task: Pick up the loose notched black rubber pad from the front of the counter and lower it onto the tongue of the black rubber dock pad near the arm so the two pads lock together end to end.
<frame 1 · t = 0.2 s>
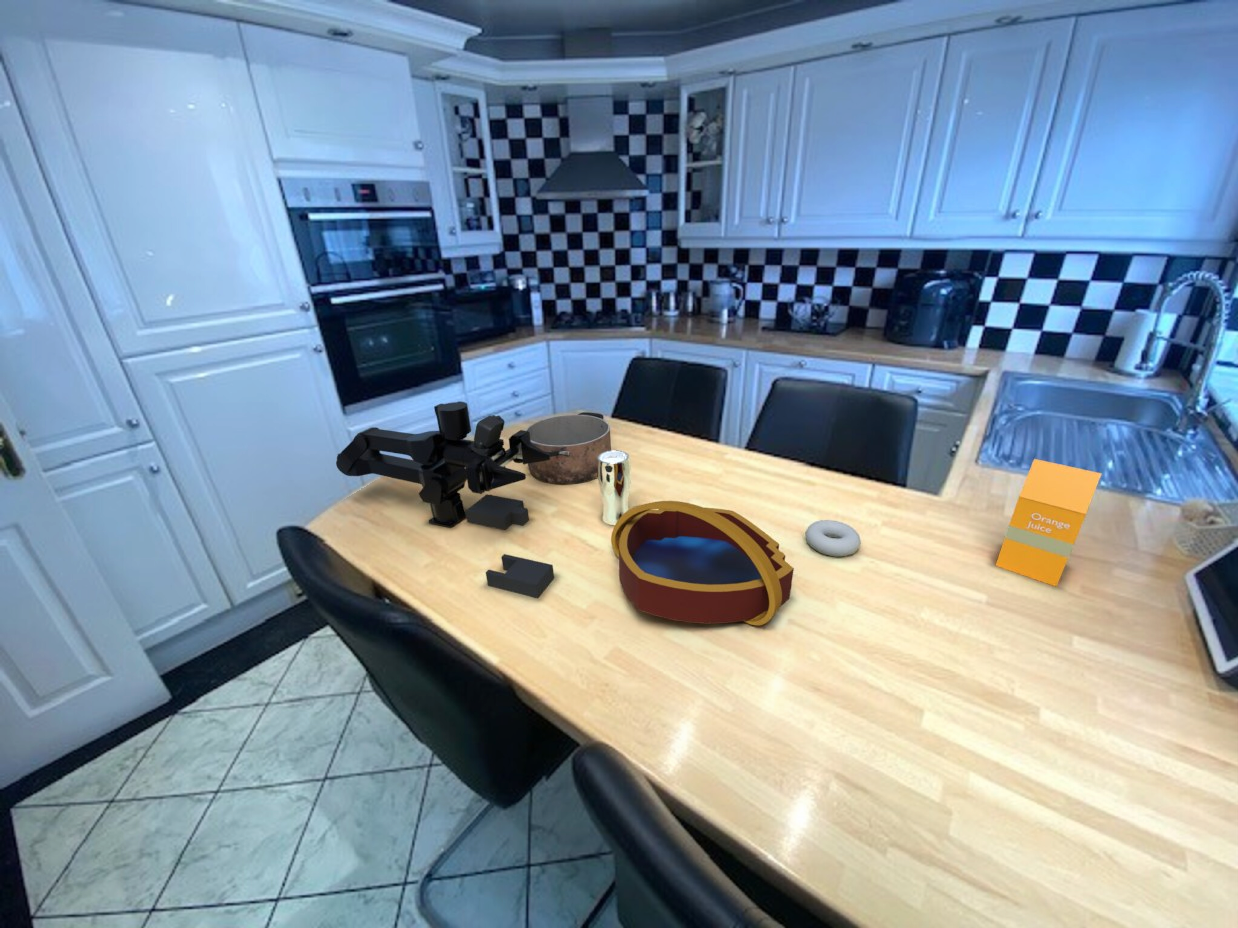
hand: (538, 466, 98), 17 cm above the countertop, tool horizontal, fingers open, 9 cm apart
donut: (831, 545, 99), on the countertop
dock pad: (496, 517, 114), on the countertop
cooking pot: (570, 466, 137), on the countertop
loose pad: (522, 582, 93), on the countertop
decorative basket: (690, 582, 91), on the countertop
beer glass: (616, 519, 112), on the countertop
orange juice: (1029, 567, 91), on the countertop
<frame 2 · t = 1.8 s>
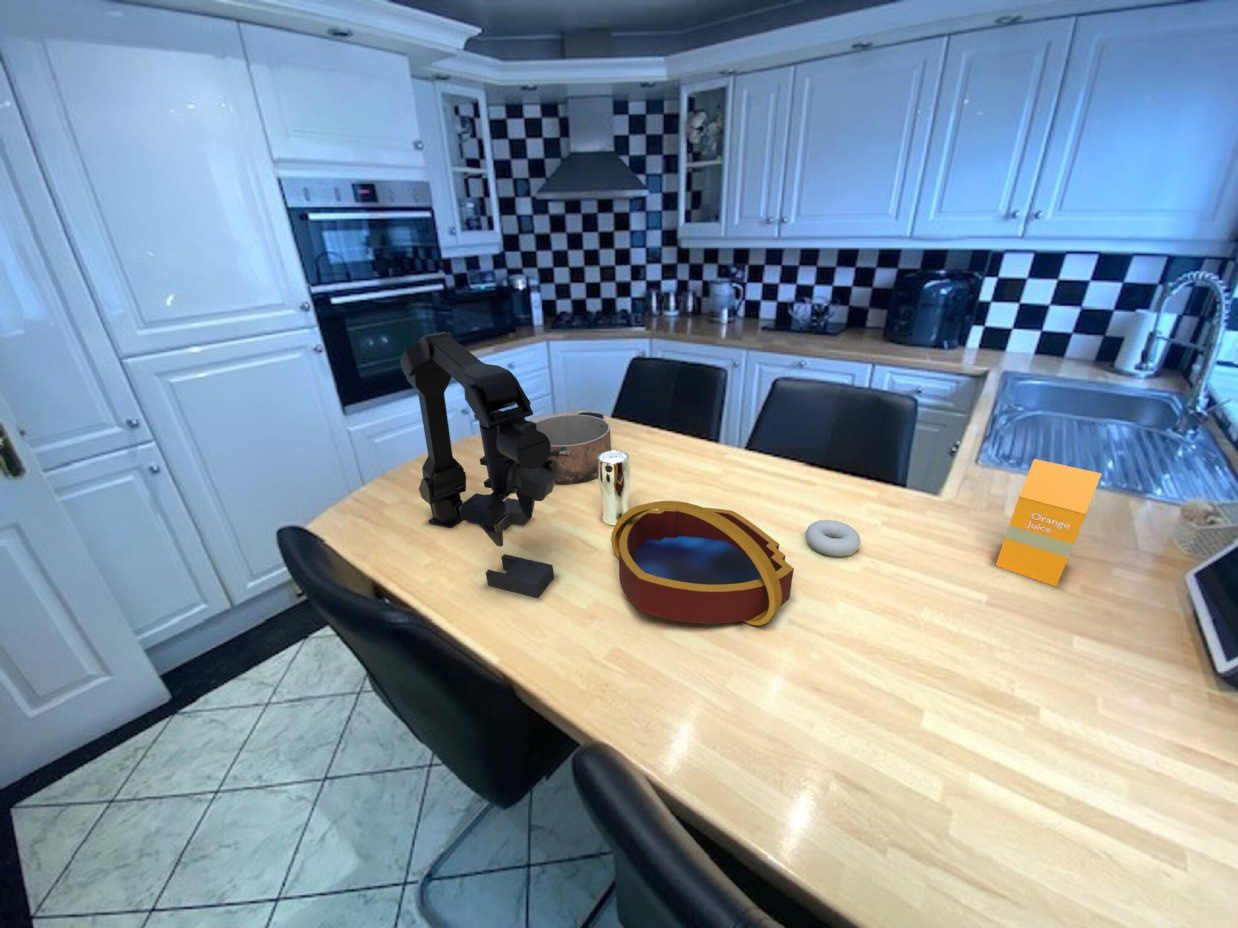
hand: (514, 531, 88), 11 cm above the countertop, tool pointing down, fingers open, 9 cm apart
nothing on the countertop moved.
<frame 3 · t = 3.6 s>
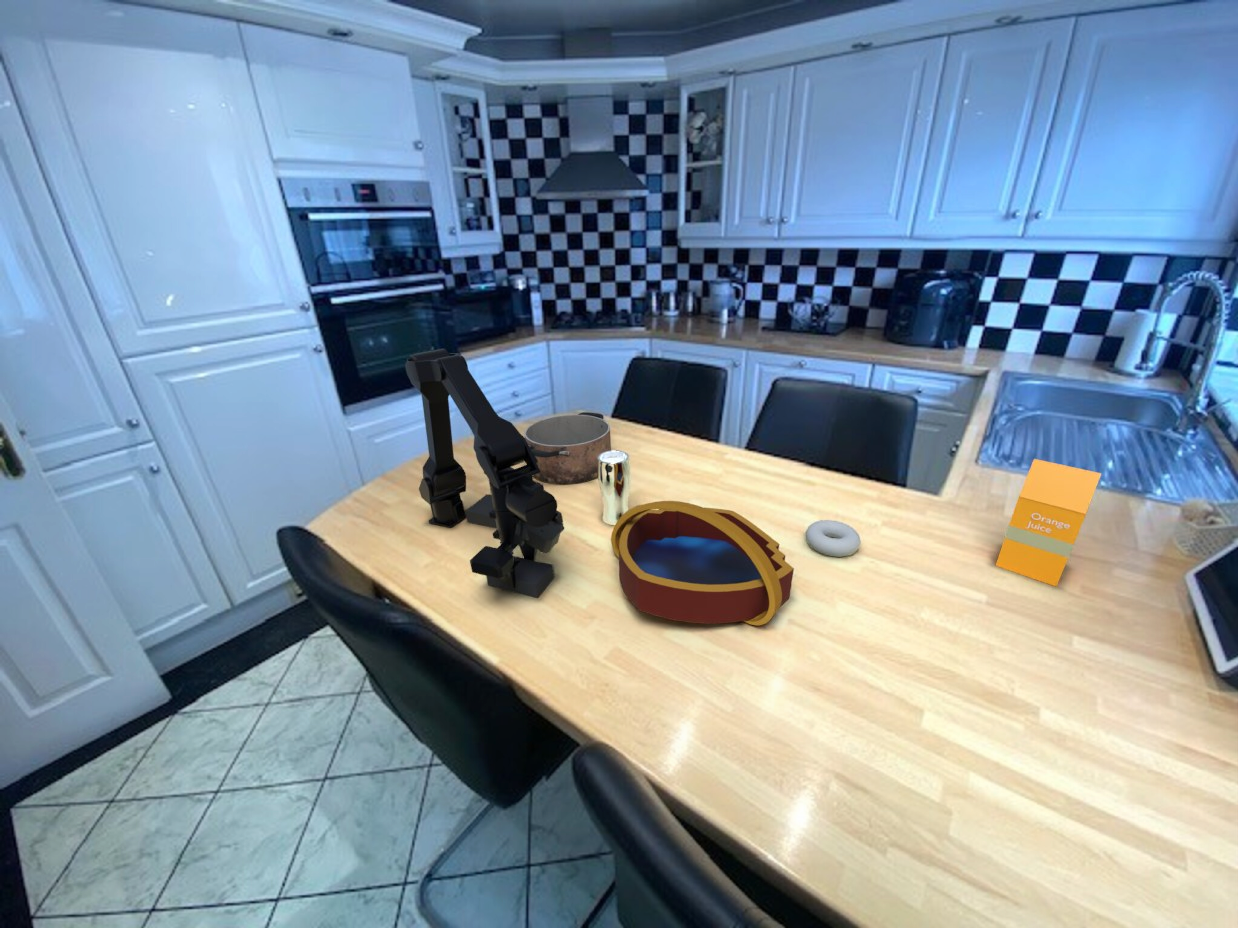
hand: (521, 577, 92), 1 cm above the countertop, tool pointing down, fingers closed on loose pad, 6 cm apart
loose pad: (522, 581, 93), on the countertop, touching gripper
everything else where it was.
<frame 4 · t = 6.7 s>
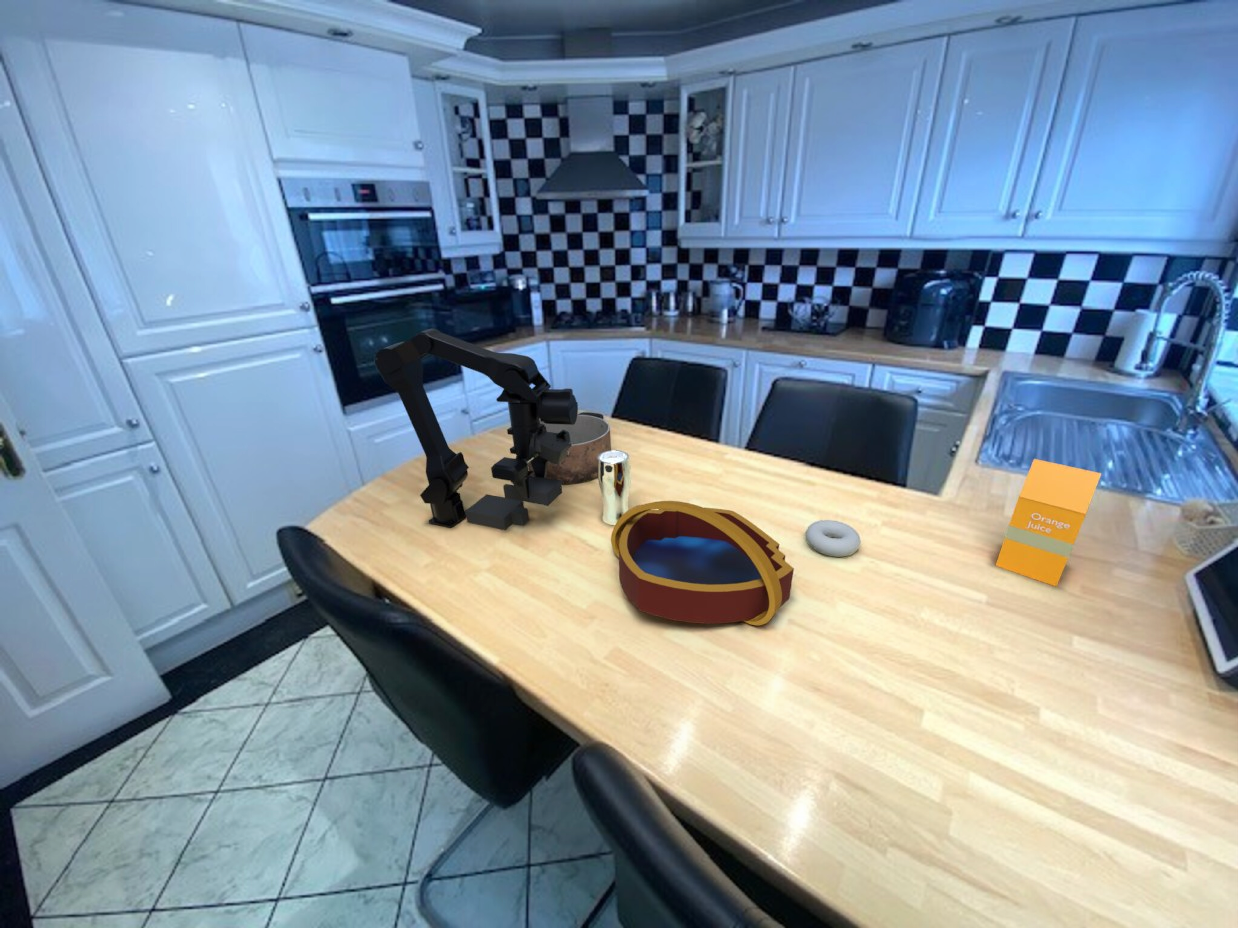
hand: (534, 491, 106), 8 cm above the countertop, tool pointing down, fingers closed on loose pad, 6 cm apart
loose pad: (534, 495, 107), point 7 cm above the countertop, touching gripper
everything else where it was.
when the fingers open (1 cm above the countertop, at t = 10.0 s): loose pad stays where it is, on the countertop.
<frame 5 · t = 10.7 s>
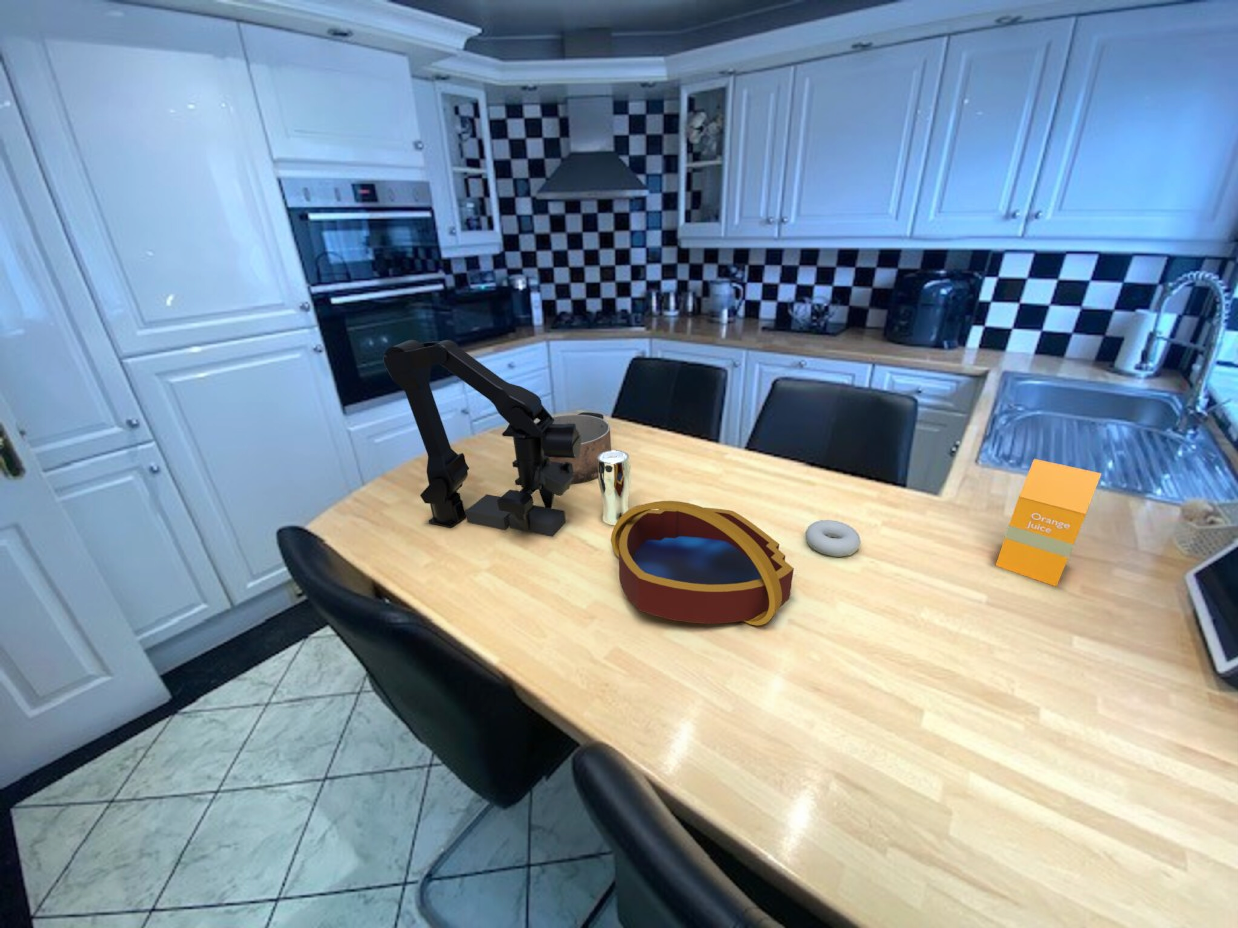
hand: (538, 520, 110), 1 cm above the countertop, tool pointing down, fingers open, 9 cm apart
loose pad: (539, 525, 110), on the countertop
everything else where it was.
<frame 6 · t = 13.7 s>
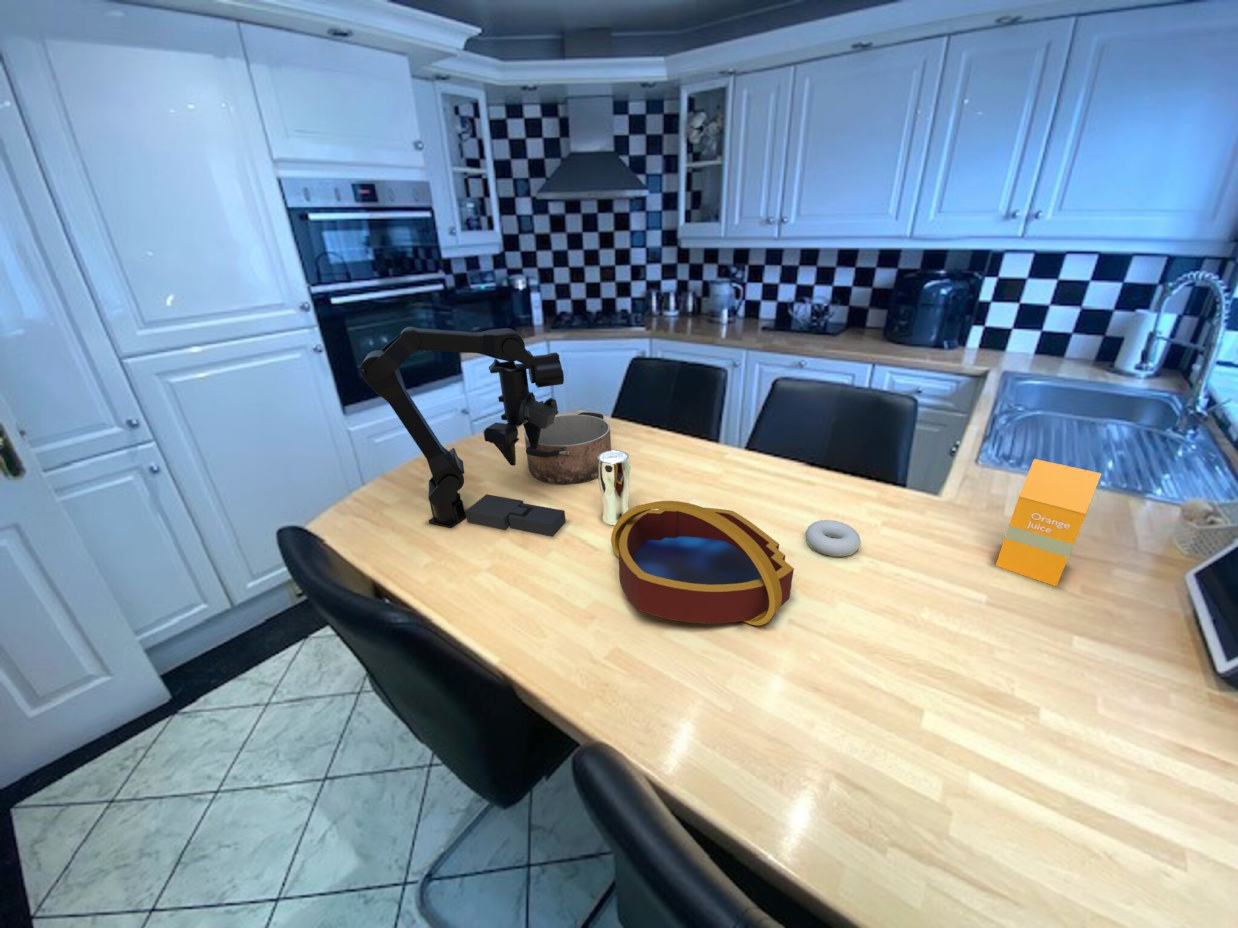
hand: (524, 456, 114), 12 cm above the countertop, tool pointing down, fingers open, 9 cm apart
nothing on the countertop moved.
at the end: loose pad 0.0 cm from the target spot on the countertop beside the dock pad, on the countertop; loose pad tilted 0°; the gripper is holding nothing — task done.
